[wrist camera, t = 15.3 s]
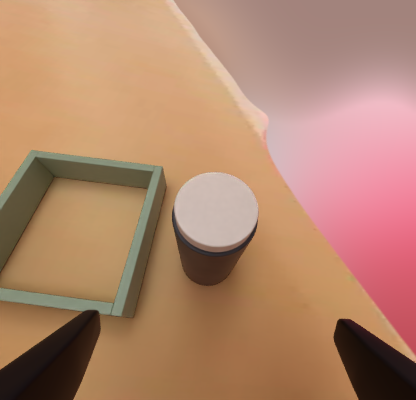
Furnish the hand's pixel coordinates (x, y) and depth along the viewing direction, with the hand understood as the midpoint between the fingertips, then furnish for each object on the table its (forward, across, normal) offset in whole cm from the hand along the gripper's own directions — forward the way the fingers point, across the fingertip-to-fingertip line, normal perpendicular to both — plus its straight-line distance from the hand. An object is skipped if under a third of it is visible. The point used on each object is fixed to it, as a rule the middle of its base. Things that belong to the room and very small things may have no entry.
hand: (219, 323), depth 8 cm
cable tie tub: (+12, 0, +5) cm, 13 cm away
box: (+14, +12, +3) cm, 19 cm away
